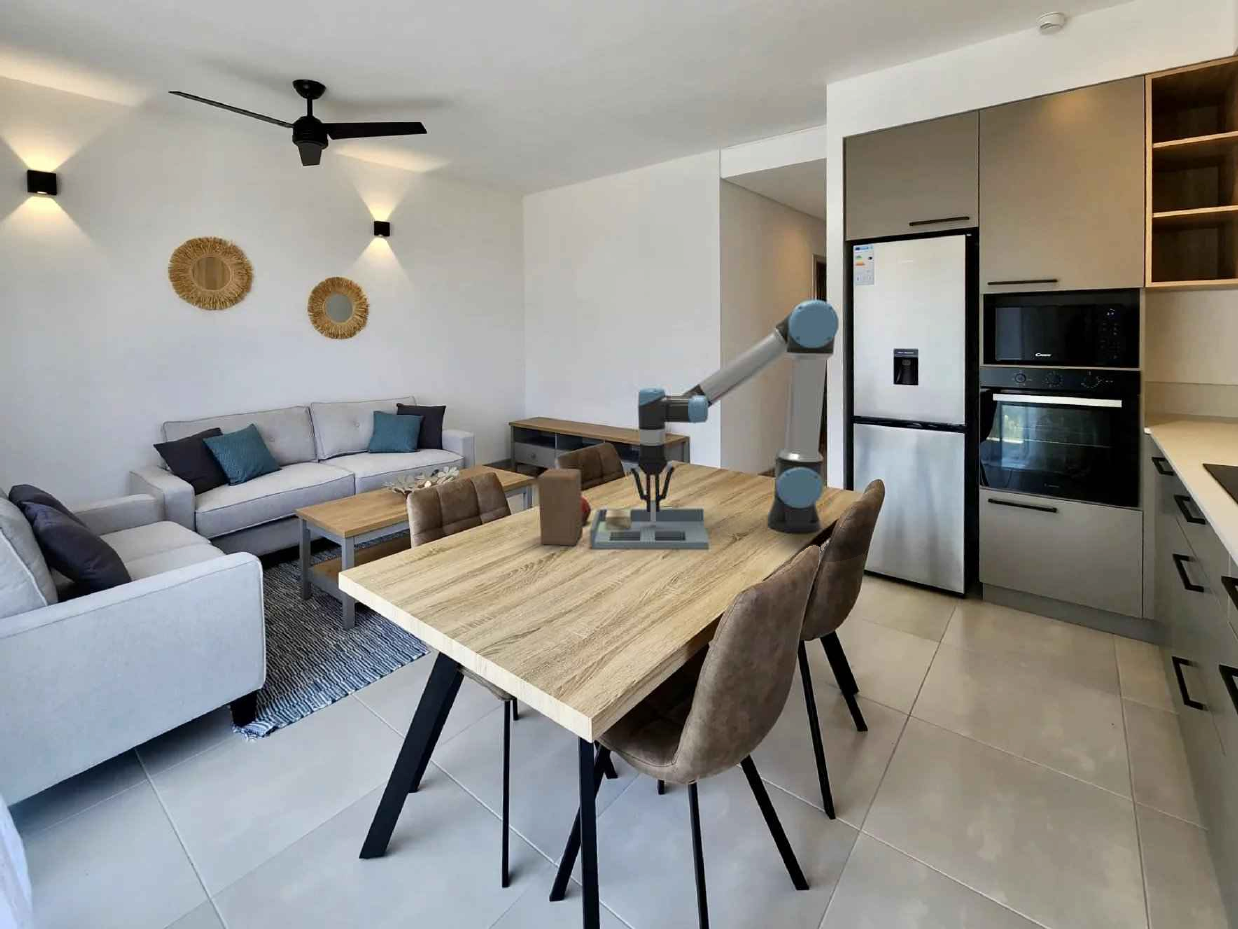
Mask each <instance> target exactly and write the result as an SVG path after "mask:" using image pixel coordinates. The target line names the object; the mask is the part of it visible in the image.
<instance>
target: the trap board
mask: <svg viewBox="0 0 1238 929" xmlns="http://www.w3.org/2000/svg"><path fill="white" fill-rule="evenodd" d="M607 510H631V527H630V530H606V518H605V517H606V513H607ZM704 511H705V509H704V508H660V511H659V512H656V524H651V512H647V508H597V509H596V512H595V515H594V517H593V520H592V523H591V526H590V529H589V531H590V532H589V534H590V550H709V549H710V541H709V538H708V535H707V534H708V533H707V530H706V526H705V522H704Z"/></svg>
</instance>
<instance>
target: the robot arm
mask: <svg viewBox="0 0 1238 929" xmlns="http://www.w3.org/2000/svg"><path fill="white" fill-rule="evenodd" d="M839 322H840V321H839V317H838V314H837V312H836V310H835V309H834V307H833V306H832V305H831V304H830V303H828V302H826V301H823V300H822V299H807V300H805V301H803V302H801V303H799V304H798V305H797V306H796V307H795V308H793V309H792V311H791V312H790V313H789V314H788V315H787V316H786V317H785V318H784V319H783V320H782V321H781V322H779V323H778V324H776V325H775V326H773V329H772V331H771V333H769V334H768V335H767V336H765V337H764V338H762V339H760V340H759V341H758V342H757V343H755V344H753V345H752V346H751V347H749V348H748V349H747V350H745V351H744V352H742V353H741V354H740V355H738V356H737V357H735V358H733V359H732V360H731V361H729V362H728V363H727V364H725V365H723V366H721V367H720V368H719V369H718V370H716V371H715V372H713V373H712V374H710V375H709V376H708V377H706V378H704V379H703V380H702V381H701V382H699V383H698V384H696V385H695V386H693V387H692V388H691V389H689V390H687V391H686V392H684V393H683V394H682V395H666V391H665V389H664V388H663V387H662V388H661V387H658V388H657V387H649V388H648V387H647V388H642V389H640V390H639V391H638V401H637V402H638V404H637V411H638V412H637V413H638V414H637V415H638V417H637V418H638V442H639V445H638V455H639V458H638V460H637V463H636V464H634V466H633V465H632V466H630V472H631V474H632V475H633V477H634V481H635V484H636V488H637V491H638V492H637V493H638V495H639V498H640V500H643V501H645V504H646V509H647V512H651V524H656V512H659V511H660V509H661V508H660V506H661V504H660V502H661V501H662V500H666V498H667V494H668V490H669V485H670V482H671V478H672V475H673V473H674V472H675V468H676V467H675V466H674V465H671V464H669V463H668V460H667V459H666V458H667V457H666V444H665V442H666V423H688V424H689V423H690V424H691V423H692V424H697V423H698V424H699V423H706V422H707V421H708V419H709V408H710V407H712V406H714V405H715V404H716V403H717V402H719V401H720V400H722V399H723V398H725V397H727V396H728V395H730V394H731V393H733V392H734V391H735V390H737V389H738V388H740V387H742V386H743V385H745V384H746V383H747V382H749V381H750V380H752V379H753V378H755V377H756V376H758V375H759V374H761V373H762V372H764V371H765V370H767V369H768V368H769V367H771V366H773V365H774V364H776V363H777V362H779V361H780V360H782V359H783V358H785V357H786V356H789V358H790V359H791V369H790V381H789V383H790V384H789V394H788V409H787V421H786V433H785V446H784V449H781V450H777V451H776V453H775V458H774V462H775V468H774V469H775V470H774V471H775V472H774V495H773V496H774V499H773V502H772V505H771V507H770V510H769V512H768V516H767V522H766V523H767V526H768V527H770V528H771V529H773V530H776V531H778V532H779V531H780V532H784V533H792V534H806V533H813V532H815V531H818V530H819V529H820V528H821V526H820V525H821V519H820V516H819V511H818V508H817V505H816V503H817V502H818V501H819V499H821V496H822V495H823V491H824V482H823V468H824V457H823V455H822V454H821V453H820V452H819V443H820V437H821V436H820V434H821V422H822V414H823V413H822V412H823V402H824V392H825V390H824V389H825V379H826V370H827V368H826V367H827V361H828V360H830V358H832V356H833V355H834V350H835V349H834V348H835V337H836V334H837V333H838V330H839V325H840V324H839ZM664 469H665V471H666V474H665V479H664V483H663V487H662V492H661V494H660V475H661V474H662V472H663V471H664ZM640 470H641V471H642V472H643V474H644V475H645V492H646V493H644V488H643V484H642V481H641V478H640V477H641V476H640V474H639V472H640ZM651 476H654V489H655V490H654V493H655V494H654V496H655V497H654V499H651V498H652V497H651V493H652V492H651Z"/></svg>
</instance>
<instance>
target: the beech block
mask: <svg viewBox="0 0 1238 929" xmlns="http://www.w3.org/2000/svg"><path fill="white" fill-rule="evenodd" d="M605 518H606V530H630V527H631V510H607V513H606V517H605Z"/></svg>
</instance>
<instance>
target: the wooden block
mask: <svg viewBox="0 0 1238 929" xmlns="http://www.w3.org/2000/svg"><path fill="white" fill-rule="evenodd" d="M581 474H582V473H581V470H580V469H578V468H577V469H576V468H548V469H546V470H545V471H543V472H542V473H541V474H540V475H538V477H537V486H538V504H539V506H538V507H539V522H540V523H539V525H540V540H541V542H540V543H541V544H543V545H556V546H560V545H561V546H575V545H576V543H577V542H578V541H579V539H580V538H581V537H582V536H583V533H584V531H583V527H584V526H583V523H582V498H583V497H582V477H581V476H582V475H581ZM581 497H582V498H581Z"/></svg>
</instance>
